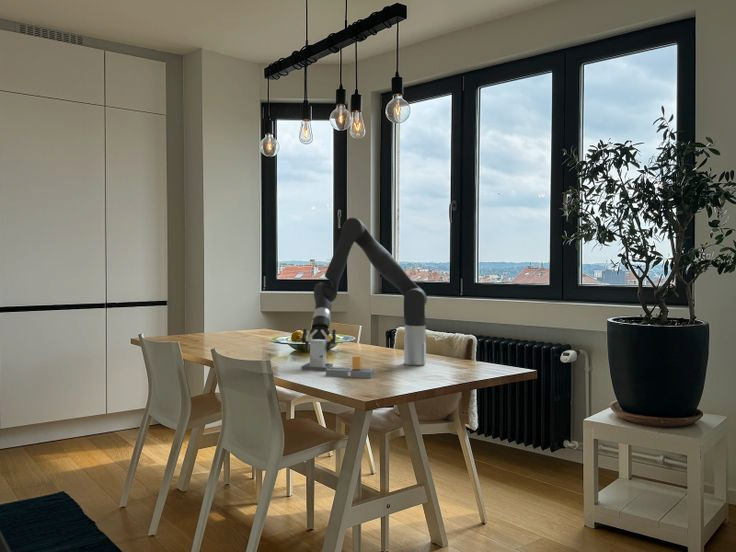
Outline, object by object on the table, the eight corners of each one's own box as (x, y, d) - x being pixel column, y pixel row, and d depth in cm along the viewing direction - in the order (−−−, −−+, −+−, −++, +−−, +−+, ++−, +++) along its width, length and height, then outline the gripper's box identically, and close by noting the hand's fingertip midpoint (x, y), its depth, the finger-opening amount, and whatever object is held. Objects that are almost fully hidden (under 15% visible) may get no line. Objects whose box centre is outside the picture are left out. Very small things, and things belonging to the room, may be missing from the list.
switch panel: (374, 375, 258) (374, 368, 258) (370, 378, 251) (370, 371, 251) (330, 372, 262) (330, 366, 262) (325, 376, 255) (325, 369, 255)
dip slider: (361, 367, 258) (362, 355, 257) (359, 369, 254) (359, 356, 254) (354, 367, 258) (354, 355, 258) (352, 369, 254) (352, 356, 254)
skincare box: (308, 369, 271) (309, 340, 270) (312, 367, 275) (313, 338, 274) (322, 369, 269) (323, 340, 268) (326, 368, 273) (326, 339, 273)
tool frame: (332, 367, 276) (332, 363, 276) (325, 371, 266) (325, 367, 265) (308, 365, 278) (308, 362, 278) (301, 370, 268) (301, 366, 268)
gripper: (304, 314, 280) (299, 344, 269) (337, 315, 279) (333, 345, 267) (306, 325, 285) (301, 355, 274) (338, 326, 284) (334, 356, 273)
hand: (317, 350), depth 271 cm, fingers open, 8 cm apart
